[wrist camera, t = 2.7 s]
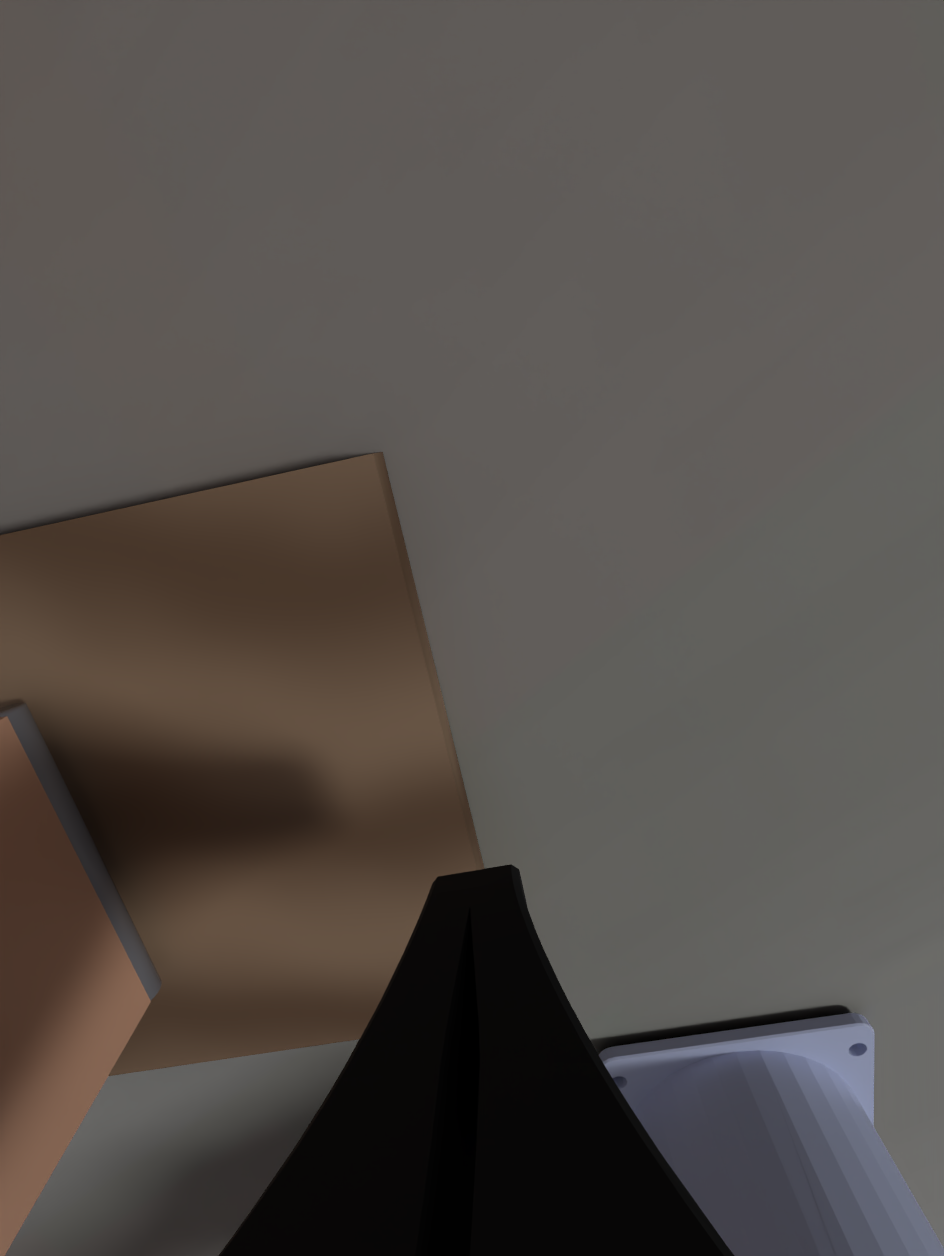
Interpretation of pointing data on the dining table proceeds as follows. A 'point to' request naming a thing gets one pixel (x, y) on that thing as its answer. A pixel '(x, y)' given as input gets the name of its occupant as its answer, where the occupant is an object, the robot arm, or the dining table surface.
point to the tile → (54, 969)
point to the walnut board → (246, 745)
